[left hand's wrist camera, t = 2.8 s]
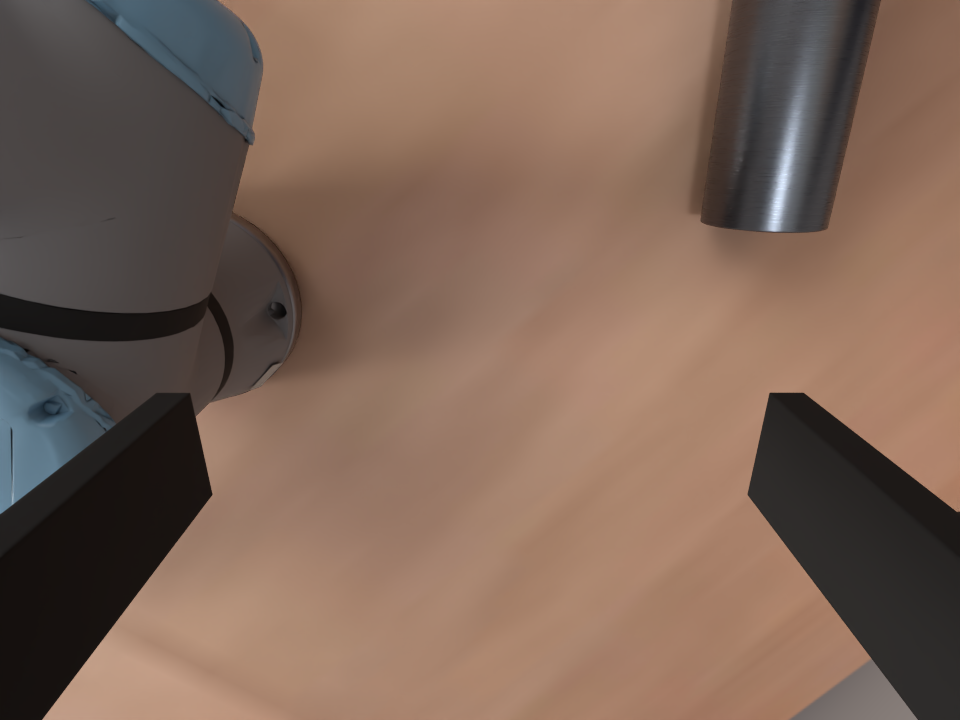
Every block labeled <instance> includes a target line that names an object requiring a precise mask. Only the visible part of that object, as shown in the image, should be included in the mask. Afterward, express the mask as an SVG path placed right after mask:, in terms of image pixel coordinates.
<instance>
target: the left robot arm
mask: <svg viewBox="0 0 960 720" xmlns="http://www.w3.org/2000/svg"><path fill="white" fill-rule="evenodd" d="M262 74H263V59H262V54H261V50H260V48H259V45H258V43H257V41H256V39H255V37H254V35H253V34H252V32H251V31H250V29H249V28H248V27H247V26H246V25H245V24H244V23H243V22H242V20H241V19H240V18H239V17H237V16H236V15H235V14H234V13H233V12H232V11H230V10H229V9H228V8H227V7H225V6H224V5H223V4H221V3H220V2H219V1H217V0H0V720H42V719H43V718H44V716H45V715H46V714H47V712H48V711H49V710H50V709H51V707H52V706H53V705H54V703H55V702H56V701H57V699H58V698H59V697H60V695H61V694H62V693H63V691H64V690H65V689H66V687H67V686H68V685H69V683H70V682H71V681H72V679H73V678H74V677H75V676H76V674H77V673H78V672H79V670H80V669H81V668H82V666H83V665H84V664H85V662H86V661H87V660H88V658H89V657H90V656H91V654H92V653H93V652H94V650H95V649H96V648H97V646H98V645H99V644H100V642H101V641H102V640H103V639H104V637H105V636H106V635H107V633H108V632H109V631H110V629H111V628H112V627H113V625H114V624H115V623H116V621H117V620H118V619H119V617H120V616H121V615H122V613H123V612H124V611H125V609H126V608H127V607H128V606H129V604H130V603H131V602H132V600H133V599H134V598H135V596H136V595H137V594H138V592H139V591H140V590H141V588H142V587H143V586H144V584H145V583H146V582H147V580H148V579H149V578H150V576H151V575H152V574H153V572H154V571H155V570H156V569H157V567H158V566H159V565H160V563H161V562H162V561H163V559H164V558H165V557H166V555H167V554H168V553H169V551H170V550H171V549H172V547H173V546H174V545H175V543H176V542H177V541H178V539H179V538H180V537H181V536H182V534H183V533H184V532H185V530H186V529H187V528H188V526H189V525H190V524H191V522H192V521H193V520H194V518H195V517H196V516H197V514H198V513H199V512H200V510H201V509H202V508H203V506H204V505H205V504H206V503H207V501H208V500H209V499H210V497H211V496H212V490H211V486H210V481H209V477H208V472H207V467H206V463H205V458H204V454H203V449H202V444H201V440H200V435H199V431H198V426H197V421H196V416H197V415H198V414H199V413H200V412H201V411H202V410H203V409H204V408H205V407H206V406H207V405H208V404H209V403H210V402H214V401H217V400H221V399H225V398H228V397H232V396H236V395H240V394H242V393H245V392H248V391H250V390H253V389H256V388H258V387H261V386H262V385H263V384H264V383H265V381H266V380H268V379H269V378H270V377H271V376H272V375H273V374H274V373H275V372H276V371H277V370H278V368H279V367H280V366H281V365H282V364H283V363H284V361H285V360H286V359H287V358H288V356H289V355H290V353H291V352H292V350H293V348H294V346H295V343H296V341H297V338H298V334H299V330H300V325H301V300H300V295H299V290H298V287H297V283H296V280H295V278H294V275H293V273H292V271H291V269H290V267H289V265H288V263H287V262H286V260H285V258H284V257H283V255H282V254H281V252H280V251H279V250H278V248H277V247H276V246H275V245H274V244H273V243H272V241H271V240H270V239H269V238H268V237H267V236H266V235H265V234H263V233H262V232H261V231H260V230H259V229H258V228H256V227H255V226H254V225H252V224H251V223H249V222H248V221H246V220H245V219H243V218H241V217H240V216H238V215H236V214H234V213H232V210H233V206H234V202H235V198H236V194H237V190H238V186H239V183H240V179H241V175H242V171H243V167H244V163H245V159H246V155H247V151H248V147H249V145H253V143H254V140H255V134H254V132H253V130H252V126H253V121H254V115H255V110H256V105H257V100H258V95H259V90H260V84H261V79H262ZM748 496H749V497H750V499H751V500H752V501H753V503H754V504H755V505H756V506H757V508H758V509H759V510H760V512H761V513H762V514H763V516H764V517H765V518H766V520H767V521H768V522H769V524H770V525H771V526H772V528H773V529H774V530H775V532H776V533H777V534H778V536H779V537H780V538H781V539H782V541H783V542H784V543H785V545H786V546H787V547H788V549H789V550H790V551H791V553H792V554H793V555H794V557H795V558H796V559H797V561H798V562H799V563H800V565H801V566H802V567H803V569H804V570H805V571H806V572H807V574H808V575H809V576H810V578H811V579H812V580H813V582H814V583H815V584H816V586H817V587H818V588H819V590H820V591H821V592H822V594H823V595H824V596H825V598H826V599H827V600H828V602H829V603H830V604H831V606H832V607H833V608H834V609H835V611H836V612H837V613H838V615H839V616H840V617H841V619H842V620H843V621H844V623H845V624H846V625H847V627H848V628H849V629H850V631H851V632H852V633H853V635H854V636H855V637H856V639H857V640H858V641H859V642H860V644H861V645H862V646H863V648H864V649H865V650H866V652H867V653H868V654H869V656H870V657H871V658H872V660H873V661H874V662H875V664H876V665H877V666H878V668H879V669H880V670H881V672H882V673H883V674H884V676H885V677H886V678H887V679H888V681H889V682H890V683H891V685H892V686H893V687H894V689H895V690H896V691H897V693H898V694H899V695H900V697H901V698H902V699H903V701H904V702H905V703H906V705H907V706H908V707H909V708H910V710H911V711H912V712H913V714H914V715H915V716H916V718H917V719H918V720H960V512H956V511H955V510H954V509H952V508H951V507H950V506H948V505H947V504H946V503H945V502H943V501H942V500H941V499H939V498H938V497H937V496H936V495H934V494H933V493H932V492H930V491H929V490H928V489H927V488H925V487H924V486H923V485H921V484H920V483H919V482H918V481H916V480H915V479H914V478H912V477H911V476H910V475H909V474H907V473H906V472H905V471H903V470H902V469H901V468H900V467H898V466H897V465H896V464H894V463H893V462H892V461H891V460H889V459H888V458H887V457H885V456H884V455H883V454H882V453H880V452H879V451H878V450H876V449H875V448H874V447H873V446H871V445H870V444H869V443H867V442H866V441H865V440H864V439H862V438H861V437H860V436H858V435H857V434H856V433H855V432H853V431H852V430H851V429H849V428H848V427H847V426H846V425H844V424H843V423H842V422H840V421H839V420H838V419H837V418H835V417H834V416H833V415H831V414H830V413H829V412H828V411H826V410H825V409H824V408H822V407H821V406H820V405H819V404H817V403H816V402H815V401H813V400H812V399H811V398H810V397H808V396H807V395H806V394H804V393H770V394H769V398H768V403H767V408H766V412H765V417H764V421H763V426H762V431H761V435H760V440H759V444H758V449H757V454H756V458H755V463H754V467H753V472H752V477H751V481H750V486H749V490H748Z"/></svg>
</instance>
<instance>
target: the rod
mask: <svg viewBox="0 0 960 720" xmlns="http://www.w3.org/2000/svg"><path fill="white" fill-rule="evenodd" d="M880 1H881V0H733V1H732V8H731V15H730V22H729V29H728V35H727V42H726V49H725V56H724V63H723V70H722V76H721V83H720V90H719V97H718V104H717V110H716V117H715V124H714V131H713V138H712V145H711V151H710V158H709V165H708V172H707V179H706V186H705V192H704V199H703V206H702V213H701V222H702V223H704V224H707V225H711V226H715V227H721V228H727V229H735V230H745V231H757V232H778V233H802V232H817V231H822V230H826V229H827V228H828V225H829V221H830V217H831V212H832V208H833V204H834V199H835V195H836V191H837V186H838V182H839V178H840V174H841V169H842V165H843V161H844V156H845V152H846V148H847V143H848V139H849V135H850V131H851V126H852V122H853V118H854V113H855V109H856V105H857V100H858V96H859V92H860V87H861V83H862V79H863V75H864V70H865V66H866V62H867V57H868V53H869V49H870V44H871V40H872V36H873V32H874V27H875V23H876V19H877V14H878V10H879V6H880Z"/></svg>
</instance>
